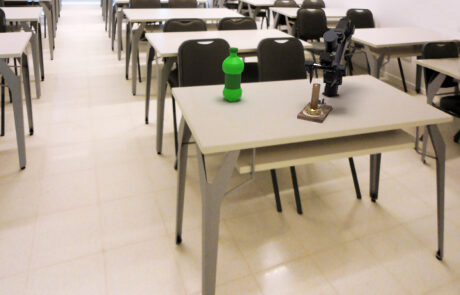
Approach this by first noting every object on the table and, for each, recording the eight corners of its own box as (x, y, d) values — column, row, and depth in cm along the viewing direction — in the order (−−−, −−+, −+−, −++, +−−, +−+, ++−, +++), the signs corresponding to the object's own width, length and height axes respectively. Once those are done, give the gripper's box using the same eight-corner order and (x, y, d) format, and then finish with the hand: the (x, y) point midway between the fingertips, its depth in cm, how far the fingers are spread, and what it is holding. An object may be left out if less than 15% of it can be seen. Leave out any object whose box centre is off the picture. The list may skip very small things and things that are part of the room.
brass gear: (319, 110, 169) (322, 82, 163) (322, 115, 162) (326, 87, 156) (303, 109, 168) (307, 81, 162) (306, 115, 162) (310, 86, 156)
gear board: (309, 104, 179) (310, 92, 177) (332, 108, 175) (334, 96, 172) (297, 118, 164) (298, 105, 161) (321, 123, 160) (323, 109, 157)
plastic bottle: (245, 102, 180) (247, 50, 169) (223, 103, 178) (224, 51, 167) (240, 95, 189) (242, 45, 178) (219, 96, 187) (220, 46, 176)
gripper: (307, 42, 166) (297, 72, 162) (350, 46, 159) (340, 78, 155) (310, 56, 176) (300, 84, 172) (350, 61, 168) (341, 91, 165)
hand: (320, 84), depth 166 cm, fingers open, 9 cm apart
